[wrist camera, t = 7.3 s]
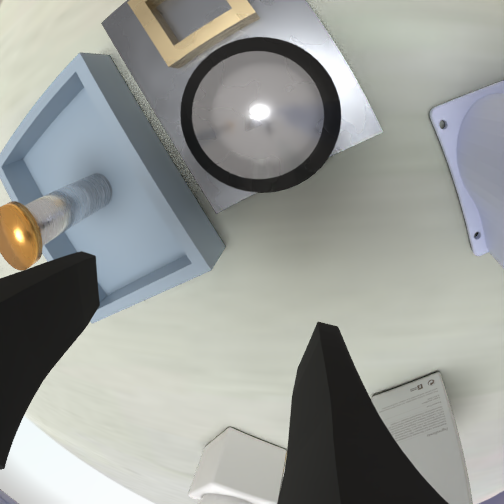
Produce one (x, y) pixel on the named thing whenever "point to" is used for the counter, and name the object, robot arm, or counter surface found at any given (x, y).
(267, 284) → the counter surface
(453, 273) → the counter surface
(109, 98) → the tray
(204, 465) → the medicine bottle
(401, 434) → the skincare box
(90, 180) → the lock pin
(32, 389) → the robot arm
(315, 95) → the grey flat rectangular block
